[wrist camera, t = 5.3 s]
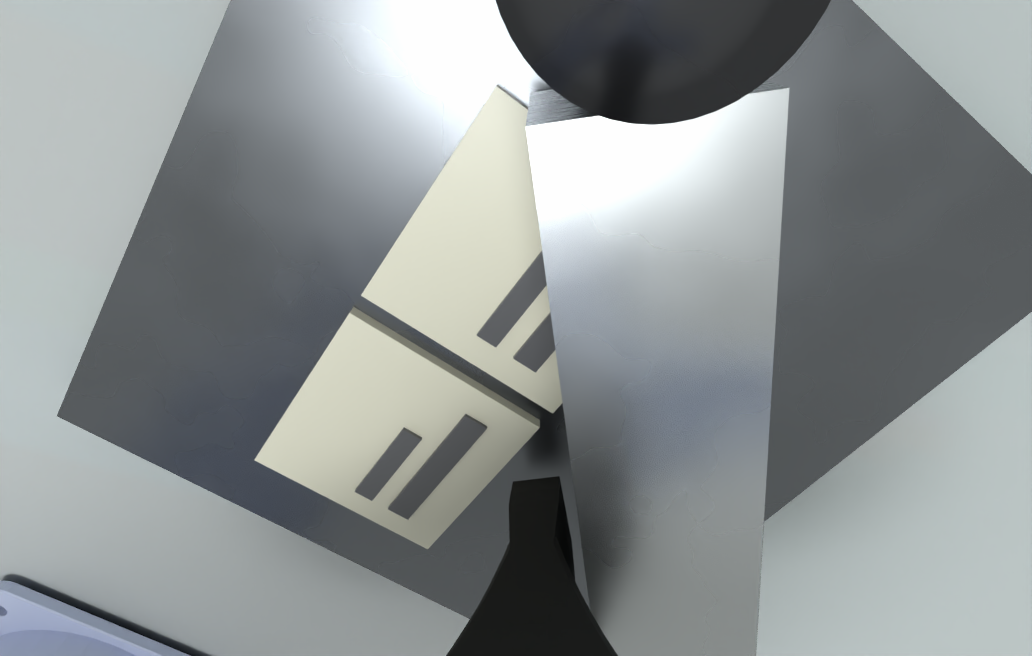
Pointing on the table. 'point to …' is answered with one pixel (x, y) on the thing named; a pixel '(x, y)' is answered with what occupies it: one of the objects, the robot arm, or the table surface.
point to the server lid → (405, 182)
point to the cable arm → (664, 294)
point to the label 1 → (479, 259)
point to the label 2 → (394, 432)
